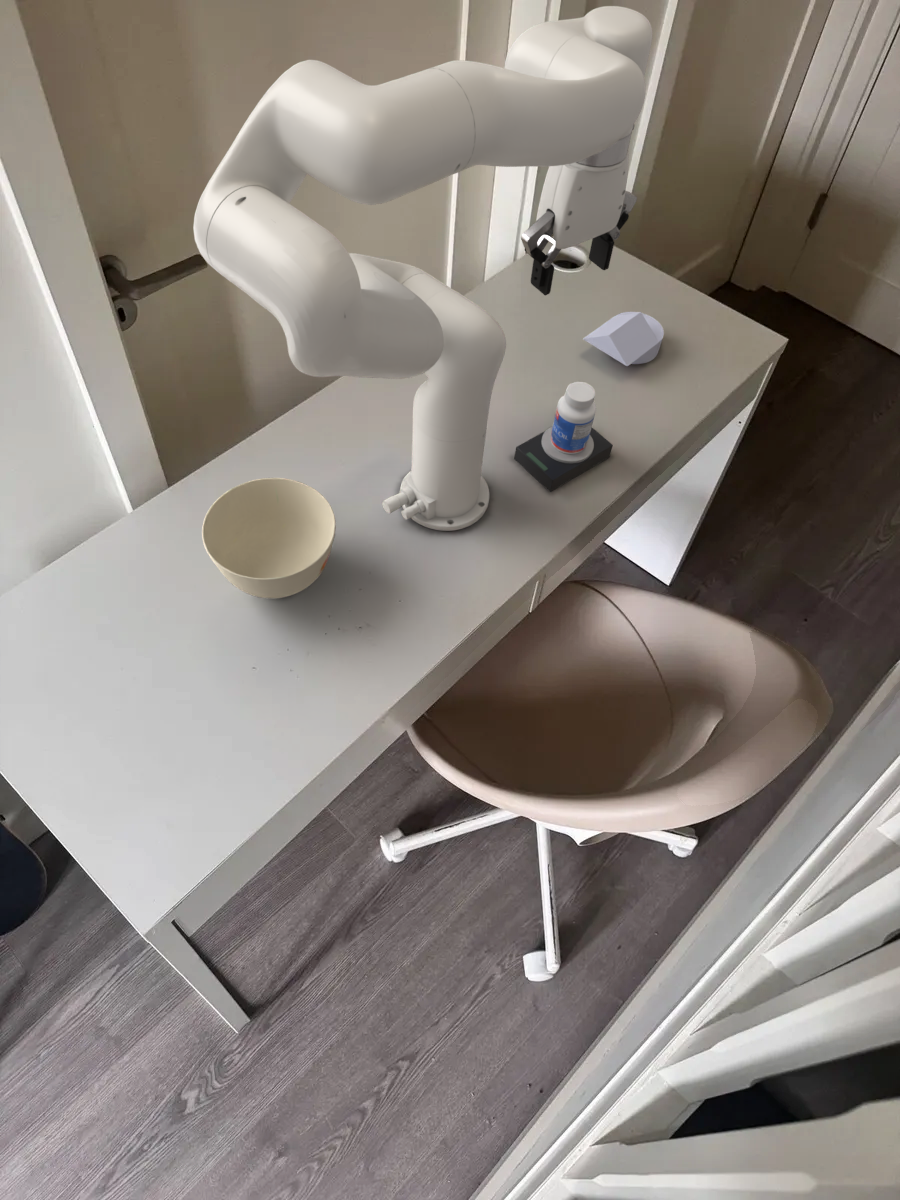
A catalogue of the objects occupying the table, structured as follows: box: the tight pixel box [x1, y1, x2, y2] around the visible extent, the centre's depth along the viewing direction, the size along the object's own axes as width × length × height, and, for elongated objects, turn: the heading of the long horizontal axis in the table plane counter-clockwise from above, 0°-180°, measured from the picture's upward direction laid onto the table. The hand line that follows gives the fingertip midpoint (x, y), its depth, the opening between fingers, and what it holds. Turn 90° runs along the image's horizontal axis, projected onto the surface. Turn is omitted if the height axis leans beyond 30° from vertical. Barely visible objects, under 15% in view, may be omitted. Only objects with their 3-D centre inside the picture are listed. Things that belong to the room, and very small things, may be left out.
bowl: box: [201, 477, 337, 599], centre depth 108 cm, size 16×16×10 cm
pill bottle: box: [551, 381, 597, 454], centre depth 121 cm, size 6×5×10 cm
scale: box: [513, 425, 614, 493], centre depth 126 cm, size 12×8×3 cm, turn 128°
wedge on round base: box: [582, 311, 665, 367], centre depth 139 cm, size 9×7×13 cm
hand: (569, 276), depth 109 cm, fingers open, 9 cm apart
